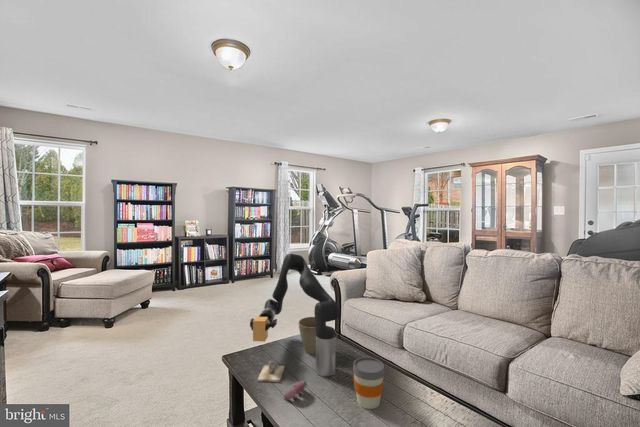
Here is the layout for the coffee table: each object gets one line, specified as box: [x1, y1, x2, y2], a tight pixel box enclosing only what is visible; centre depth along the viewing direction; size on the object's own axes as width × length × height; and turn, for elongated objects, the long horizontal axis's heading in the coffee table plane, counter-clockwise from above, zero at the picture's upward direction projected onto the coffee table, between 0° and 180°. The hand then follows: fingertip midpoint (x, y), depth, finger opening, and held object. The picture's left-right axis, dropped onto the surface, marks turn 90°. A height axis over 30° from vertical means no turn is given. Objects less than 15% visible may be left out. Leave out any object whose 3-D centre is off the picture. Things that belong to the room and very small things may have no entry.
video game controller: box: [283, 379, 308, 401], centre depth 124 cm, size 10×5×7 cm, turn 143°
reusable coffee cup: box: [352, 356, 386, 410], centre depth 121 cm, size 13×13×15 cm
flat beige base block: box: [257, 359, 285, 383], centre depth 140 cm, size 10×12×6 cm
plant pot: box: [297, 316, 316, 355], centre depth 163 cm, size 15×15×16 cm
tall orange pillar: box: [252, 316, 269, 342], centre depth 151 cm, size 6×6×10 cm
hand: (259, 328), depth 149 cm, fingers closed on tall orange pillar, 6 cm apart
